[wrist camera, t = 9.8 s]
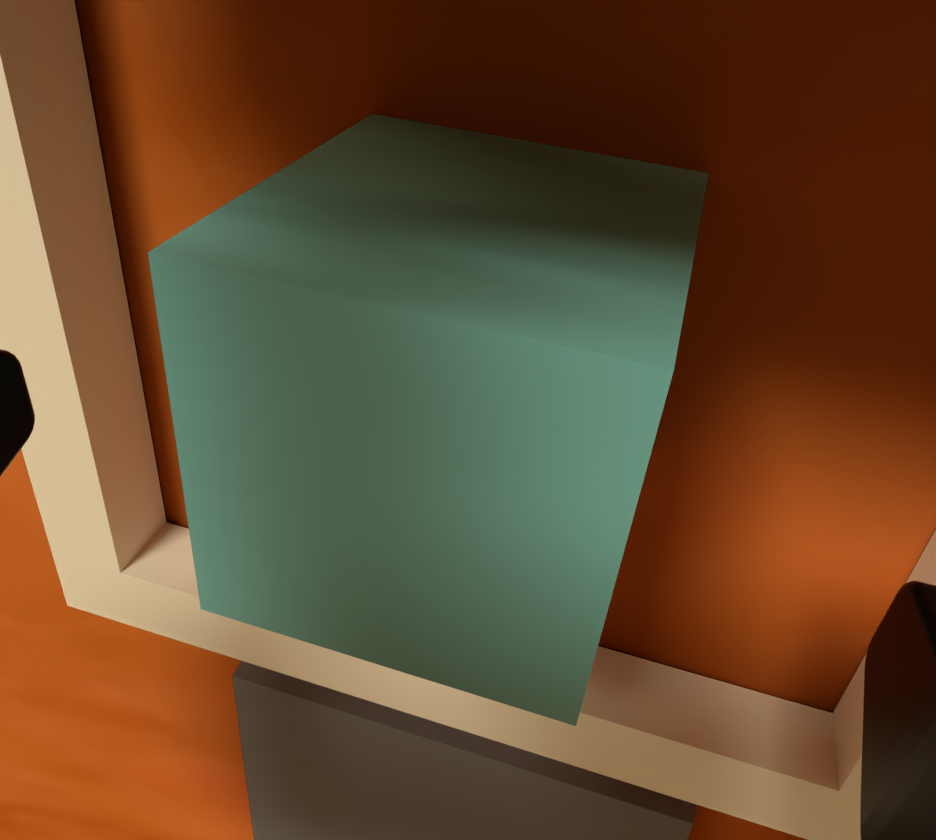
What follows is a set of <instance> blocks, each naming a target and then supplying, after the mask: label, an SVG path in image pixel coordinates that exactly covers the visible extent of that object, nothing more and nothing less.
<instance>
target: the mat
mask: <svg viewBox="0 0 936 840" xmlns="http://www.w3.org/2000/svg"><path fill="white" fill-rule="evenodd" d="M232 677H233V685H234V692H235V700H236V707H237V715H238V722H239V730H240V737H241V745H242V752H243V760H244V767H245V775H246V782H247V790H248V797H249V805H250V812H251V820H252V827H253V835H254V840H687V838H688V836H689V834H690V832H691V829H692V827H693V825H694V815H695V804H693V803H690V802H687V801H684V800H681V799H677V798H674V797H671V796H668V795H665V794H662V793H658V792H655V791H652V790H649V789H646V788H643V787H640V786H636V785H633V784H630V783H627V782H624V781H621V780H617V779H614V778H611V777H608V776H605V775H602V774H598V773H595V772H592V771H589V770H586V769H583V768H579V767H576V766H573V765H570V764H567V763H564V762H560V761H557V760H554V759H551V758H548V757H545V756H542V755H538V754H535V753H532V752H529V751H526V750H523V749H519V748H516V747H513V746H510V745H507V744H504V743H500V742H497V741H494V740H491V739H488V738H485V737H481V736H478V735H475V734H472V733H469V732H466V731H463V730H459V729H456V728H453V727H450V726H447V725H444V724H440V723H437V722H434V721H431V720H428V719H425V718H421V717H418V716H415V715H412V714H409V713H406V712H402V711H399V710H396V709H393V708H390V707H387V706H384V705H380V704H377V703H374V702H371V701H368V700H365V699H361V698H358V697H355V696H352V695H349V694H346V693H342V692H339V691H336V690H333V689H330V688H327V687H323V686H320V685H317V684H314V683H311V682H308V681H304V680H301V679H298V678H295V677H292V676H289V675H286V674H282V673H279V672H276V671H273V670H270V669H267V668H263V667H260V666H257V665H254V664H251V663H248V662H244V661H242V662H241V664H240V665H239V667H238V668H237V670H236V671H235V673H234V674H233V676H232Z"/></svg>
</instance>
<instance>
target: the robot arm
mask: <svg viewBox="0 0 936 840" xmlns="http://www.w3.org/2000/svg"><path fill="white" fill-rule="evenodd" d="M34 423H35V414H34V410H33V406H32V403H31V399H30V395H29V392H28V388H27V384H26V381H25V377H24V373H23V370H22V366H21V364H20V361H19V360H18V359H17V357H16V356H15V355H14V354H12V353H11V352H9V351H6V350H2V349H0V476H1V475H2V474H3V472H4V471H5V470H6V468H7V467H8V466H9V464H10V463H11V462H12V460H13V459H14V458H15V456H16V455H17V453H18V452H19V451H20V449H21V448H22V447H23V445H24V444H25V443H26V441H27V440H28V439H29V437H30V435H31V433H32V431H33V428H34ZM860 833H861V840H936V585H932V584H928V583H924V582H920V581H911V582H907V583H906V584H905V585H903V586H902V587H901V588H900V590H899V591H898V593H897V595H896V596H895V598H894V600H893V602H892V604H891V605H890V607H889V609H888V611H887V613H886V614H885V616H884V618H883V620H882V622H881V623H880V625H879V627H878V629H877V631H876V632H875V634H874V636H873V638H872V640H871V642H870V644H869V647H868V650H867V654H866V660H865V669H864V701H863V734H862V766H861V799H860Z"/></svg>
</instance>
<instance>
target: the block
mask: <svg viewBox="0 0 936 840" xmlns="http://www.w3.org/2000/svg"><path fill="white" fill-rule="evenodd" d="M708 176H709V173H705V172H700V171H694V170H688V169H683V168H677V167H671V166H666V165H660V164H654V163H649V162H643V161H637V160H632V159H626V158H620V157H615V156H609V155H604V154H598V153H592V152H587V151H581V150H575V149H570V148H564V147H558V146H553V145H547V144H541V143H536V142H530V141H524V140H519V139H513V138H507V137H502V136H496V135H490V134H485V133H479V132H474V131H468V130H462V129H457V128H451V127H445V126H440V125H434V124H428V123H423V122H417V121H411V120H406V119H400V118H394V117H389V116H383V115H377V114H371V115H369V116H367V117H366V118H364V119H362V120H361V121H359V122H358V123H356V124H354V125H353V126H351V127H350V128H348V129H346V130H345V131H343V132H341V133H340V134H338V135H337V136H335V137H333V138H332V139H330V140H329V141H327V142H325V143H324V144H322V145H321V146H319V147H317V148H316V149H314V150H312V151H311V152H309V153H308V154H306V155H304V156H303V157H301V158H300V159H298V160H296V161H295V162H293V163H291V164H290V165H288V166H287V167H285V168H283V169H282V170H280V171H279V172H277V173H275V174H274V175H272V176H270V177H269V178H267V179H266V180H264V181H262V182H261V183H259V184H258V185H256V186H254V187H253V188H251V189H249V190H248V191H246V192H245V193H243V194H241V195H240V196H238V197H237V198H235V199H233V200H232V201H230V202H228V203H227V204H225V205H224V206H222V207H220V208H219V209H217V210H216V211H214V212H212V213H211V214H209V215H207V216H206V217H204V218H203V219H201V220H199V221H198V222H196V223H195V224H193V225H191V226H190V227H188V228H186V229H185V230H183V231H182V232H180V233H178V234H177V235H175V236H174V237H172V238H170V239H169V240H167V241H165V242H164V243H162V244H161V245H159V246H157V247H156V248H154V249H153V250H151V251H149V252H148V258H149V264H150V271H151V278H152V284H153V291H154V298H155V305H156V311H157V318H158V325H159V332H160V338H161V345H162V352H163V358H164V365H165V372H166V379H167V385H168V392H169V399H170V406H171V412H172V419H173V426H174V432H175V439H176V446H177V453H178V459H179V466H180V473H181V480H182V486H183V493H184V500H185V506H186V513H187V520H188V527H189V533H190V540H191V547H192V554H193V560H194V567H195V574H196V580H197V587H198V594H199V601H200V607H201V609H202V610H205V611H208V612H211V613H214V614H218V615H221V616H224V617H227V618H230V619H234V620H237V621H240V622H243V623H246V624H250V625H253V626H256V627H259V628H263V629H266V630H269V631H272V632H275V633H279V634H282V635H285V636H288V637H291V638H295V639H298V640H301V641H304V642H307V643H311V644H314V645H317V646H320V647H323V648H327V649H330V650H333V651H336V652H339V653H343V654H346V655H349V656H352V657H356V658H359V659H362V660H365V661H368V662H372V663H375V664H378V665H381V666H384V667H388V668H391V669H394V670H397V671H400V672H404V673H407V674H410V675H413V676H416V677H420V678H423V679H426V680H429V681H432V682H436V683H439V684H442V685H445V686H449V687H452V688H455V689H458V690H461V691H465V692H468V693H471V694H474V695H477V696H481V697H484V698H487V699H490V700H493V701H497V702H500V703H503V704H506V705H509V706H513V707H516V708H519V709H522V710H525V711H529V712H532V713H535V714H538V715H541V716H545V717H548V718H551V719H554V720H558V721H561V722H564V723H567V724H570V725H574V726H576V724H577V721H578V717H579V713H580V710H581V706H582V703H583V699H584V695H585V692H586V688H587V684H588V681H589V677H590V673H591V670H592V666H593V663H594V659H595V655H596V652H597V648H598V644H599V641H600V637H601V634H602V630H603V626H604V623H605V619H606V615H607V612H608V608H609V604H610V601H611V597H612V594H613V590H614V586H615V583H616V579H617V575H618V572H619V568H620V564H621V561H622V557H623V554H624V550H625V546H626V543H627V539H628V535H629V532H630V528H631V524H632V521H633V517H634V514H635V510H636V506H637V503H638V499H639V495H640V492H641V488H642V484H643V481H644V477H645V474H646V470H647V466H648V463H649V459H650V455H651V452H652V448H653V444H654V441H655V437H656V434H657V430H658V426H659V423H660V419H661V415H662V412H663V408H664V404H665V401H666V397H667V394H668V390H669V386H670V383H671V379H672V375H673V372H674V367H675V361H676V356H677V350H678V345H679V339H680V333H681V328H682V322H683V317H684V311H685V305H686V300H687V294H688V289H689V283H690V277H691V272H692V266H693V261H694V255H695V249H696V244H697V238H698V232H699V227H700V221H701V216H702V210H703V204H704V199H705V193H706V188H707V182H708Z"/></svg>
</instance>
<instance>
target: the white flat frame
mask: <svg viewBox="0 0 936 840" xmlns="http://www.w3.org/2000/svg"><path fill="white" fill-rule="evenodd" d="M0 349H2V350H6V351H9V352H11V353H12V354H14V355H15V356H16V357H17V359H18V360H19V361H20V364H21V366H22V370H23V373H24V377H25V381H26V384H27V388H28V392H29V395H30V399H31V403H32V406H33V410H34V414H35V423H34V428H33V431H32V433H31V435H30V437H29V439H28V440H27V441H26V443H25V444H24V445H23V447H22V448H21V449H22V453H23V456H24V459H25V463H26V466H27V470H28V473H29V476H30V480H31V483H32V487H33V490H34V493H35V497H36V500H37V504H38V507H39V510H40V514H41V517H42V521H43V524H44V527H45V531H46V534H47V538H48V541H49V544H50V548H51V551H52V555H53V558H54V561H55V565H56V568H57V572H58V575H59V578H60V582H61V585H62V589H63V592H64V595H65V599H66V602H67V606H71V607H74V608H77V609H80V610H83V611H86V612H90V613H93V614H96V615H99V616H102V617H105V618H109V619H112V620H115V621H118V622H121V623H124V624H127V625H131V626H134V627H137V628H140V629H143V630H146V631H150V632H153V633H156V634H159V635H162V636H165V637H169V638H172V639H175V640H178V641H181V642H184V643H188V644H191V645H194V646H197V647H200V648H203V649H207V650H210V651H213V652H216V653H219V654H222V655H225V656H229V657H232V658H235V659H238V660H241V661H244V662H248V663H251V664H254V665H257V666H260V667H263V668H267V669H270V670H273V671H276V672H279V673H282V674H286V675H289V676H292V677H295V678H298V679H301V680H304V681H308V682H311V683H314V684H317V685H320V686H323V687H327V688H330V689H333V690H336V691H339V692H342V693H346V694H349V695H352V696H355V697H358V698H361V699H365V700H368V701H371V702H374V703H377V704H380V705H384V706H387V707H390V708H393V709H396V710H399V711H402V712H406V713H409V714H412V715H415V716H418V717H421V718H425V719H428V720H431V721H434V722H437V723H440V724H444V725H447V726H450V727H453V728H456V729H459V730H463V731H466V732H469V733H472V734H475V735H478V736H481V737H485V738H488V739H491V740H494V741H497V742H500V743H504V744H507V745H510V746H513V747H516V748H519V749H523V750H526V751H529V752H532V753H535V754H538V755H542V756H545V757H548V758H551V759H554V760H557V761H560V762H564V763H567V764H570V765H573V766H576V767H579V768H583V769H586V770H589V771H592V772H595V773H598V774H602V775H605V776H608V777H611V778H614V779H617V780H621V781H624V782H627V783H630V784H633V785H636V786H640V787H643V788H646V789H649V790H652V791H655V792H658V793H662V794H665V795H668V796H671V797H674V798H677V799H681V800H684V801H687V802H690V803H693V804H696V805H700V806H703V807H706V808H709V809H712V810H715V811H719V812H722V813H725V814H728V815H731V816H734V817H737V818H741V819H744V820H747V821H750V822H753V823H756V824H760V825H763V826H766V827H769V828H772V829H775V830H779V831H782V832H785V833H788V834H791V835H794V836H798V837H801V838H804V839H807V840H861V833H860V799H861V766H862V734H863V701H864V669H865V660H866V655H865V656H864V658H863V660H862V662H861V664H860V665H859V667H858V669H857V671H856V672H855V674H854V676H853V678H852V680H851V681H850V683H849V685H848V687H847V688H846V690H845V692H844V694H843V696H842V697H841V699H840V701H839V703H838V704H837V706H836V708H835V710H834V712H833V713H830V712H826V711H823V710H819V709H816V708H812V707H809V706H806V705H802V704H799V703H795V702H792V701H788V700H785V699H781V698H778V697H774V696H771V695H767V694H764V693H760V692H757V691H753V690H750V689H746V688H743V687H739V686H736V685H732V684H729V683H725V682H722V681H718V680H715V679H711V678H708V677H704V676H701V675H697V674H694V673H690V672H687V671H683V670H680V669H676V668H673V667H669V666H666V665H662V664H659V663H656V662H652V661H649V660H645V659H642V658H638V657H635V656H631V655H628V654H624V653H621V652H617V651H614V650H610V649H607V648H603V647H600V646H598V648H597V652H596V655H595V659H594V663H593V666H592V670H591V673H590V677H589V681H588V684H587V688H586V692H585V695H584V699H583V703H582V706H581V710H580V713H579V717H578V721H577V724H576V726H574V725H570V724H567V723H564V722H561V721H558V720H554V719H551V718H548V717H545V716H541V715H538V714H535V713H532V712H529V711H525V710H522V709H519V708H516V707H513V706H509V705H506V704H503V703H500V702H497V701H493V700H490V699H487V698H484V697H481V696H477V695H474V694H471V693H468V692H465V691H461V690H458V689H455V688H452V687H449V686H445V685H442V684H439V683H436V682H432V681H429V680H426V679H423V678H420V677H416V676H413V675H410V674H407V673H404V672H400V671H397V670H394V669H391V668H388V667H384V666H381V665H378V664H375V663H372V662H368V661H365V660H362V659H359V658H356V657H352V656H349V655H346V654H343V653H339V652H336V651H333V650H330V649H327V648H323V647H320V646H317V645H314V644H311V643H307V642H304V641H301V640H298V639H295V638H291V637H288V636H285V635H282V634H279V633H275V632H272V631H269V630H266V629H263V628H259V627H256V626H253V625H250V624H246V623H243V622H240V621H237V620H234V619H230V618H227V617H224V616H221V615H218V614H214V613H211V612H208V611H205V610H202V609H201V607H200V601H199V594H198V587H197V580H196V574H195V567H194V560H193V554H192V547H191V540H190V533H189V529H188V528H185V527H181V526H178V525H174V524H171V523H167V522H166V517H165V511H164V506H163V500H162V494H161V489H160V483H159V477H158V472H157V466H156V460H155V455H154V449H153V443H152V438H151V432H150V426H149V421H148V415H147V409H146V404H145V398H144V392H143V387H142V381H141V375H140V370H139V364H138V358H137V353H136V347H135V341H134V335H133V330H132V324H131V318H130V313H129V307H128V301H127V296H126V290H125V284H124V279H123V273H122V267H121V262H120V256H119V250H118V245H117V239H116V233H115V228H114V222H113V216H112V211H111V205H110V199H109V194H108V188H107V182H106V177H105V171H104V165H103V160H102V154H101V148H100V143H99V137H98V131H97V126H96V120H95V114H94V109H93V103H92V97H91V92H90V86H89V80H88V75H87V69H86V63H85V58H84V52H83V46H82V41H81V35H80V29H79V24H78V18H77V12H76V7H75V1H74V0H0ZM911 581H920V582H924V583H928V584H932V585H936V530H935V532H934V534H933V535H932V537H931V539H930V541H929V542H928V544H927V546H926V548H925V550H924V551H923V553H922V555H921V557H920V558H919V560H918V562H917V564H916V566H915V567H914V569H913V571H912V573H911V575H910V576H909V578H908V580H907V582H911ZM907 582H906V583H907ZM906 583H905V584H906ZM866 654H867V653H866Z"/></svg>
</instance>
